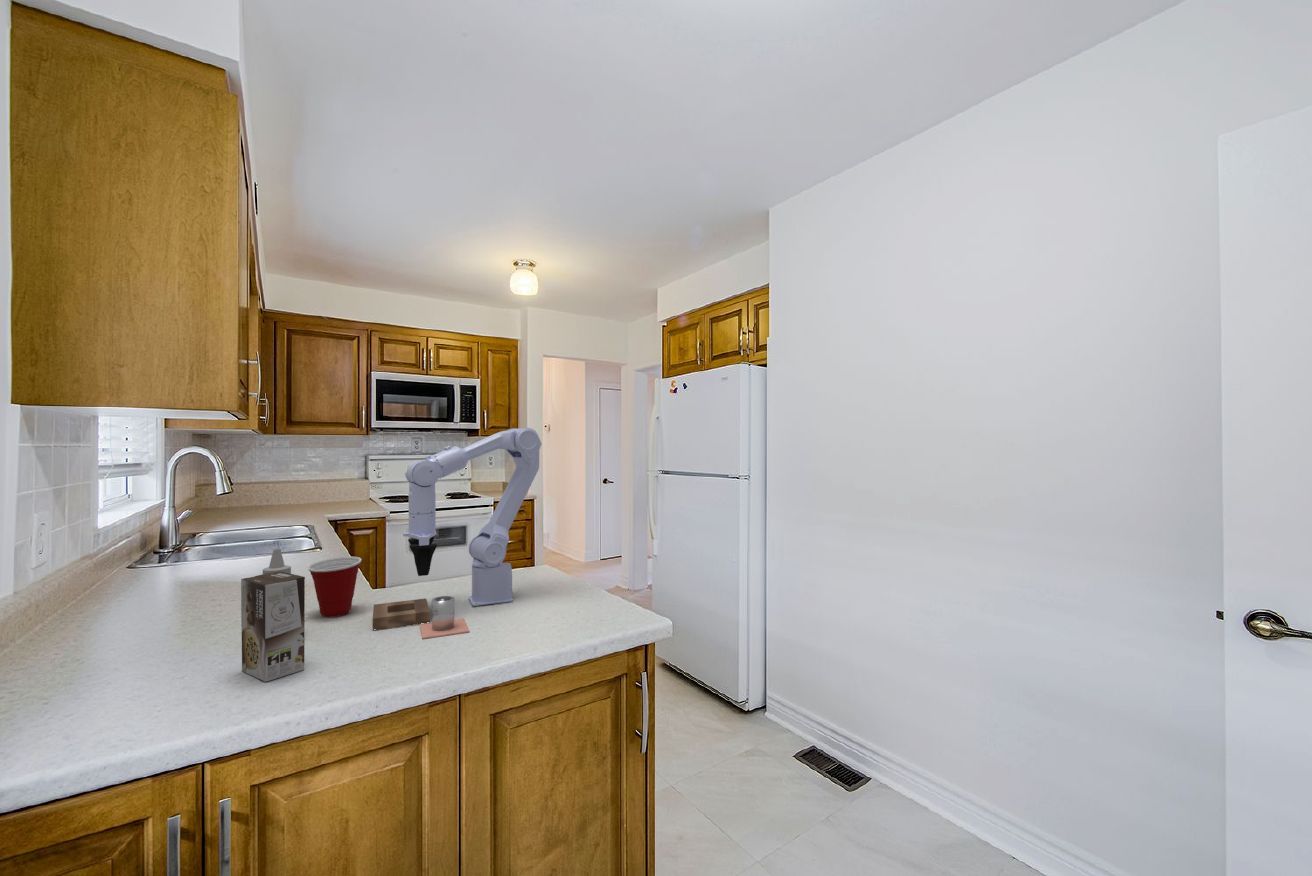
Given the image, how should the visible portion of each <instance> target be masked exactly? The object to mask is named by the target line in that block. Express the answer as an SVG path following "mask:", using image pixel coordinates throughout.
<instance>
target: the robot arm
mask: <svg viewBox="0 0 1312 876" xmlns="http://www.w3.org/2000/svg"><path fill="white" fill-rule="evenodd" d="M542 443H543V442H542V441H541V439H540V437H539V434H538V432H537V431H536V430H534V428H531V427H523V428H516V427H515V428H514V427H513V428H509V429H507V430H502V431H499V432H496V433H493V434H492V435H489V436H487V437H485V438H482V439H481V440H478V441H476V442H474V443H471V444H470V445H467V446H465V447H463V448H462V447H459V446H456V445H454V446H451V445H447V446H444V450H442V451H440V452H437V453H435V454H433V455H431V454H427V455H425V456H424V458H425V459H424V460H416V461H413V462H411V463H410V464H409V466H408V467H407V469H406V472H405V473H404V475H405V476H404V477H405V478H406V480H407V481H408V484H409V485H408V490H409V491H408V531H404V532H403V533H402V536H403V537H409V538H408V539H407V540H408V543H409V550H411V552H412V555H413V559H414V560H413V561H414V565H415V567H416V573H417V576H418V577H423V576H428V575H429V574H430V569H431V566H432V559H433V555H434V554H435V551H436V549H437V546H438V544H437V543H433V542H434V540H435V535H437V530H436V529H437V528H436V527H437V526H436V522H437V521H436V517H437V516H436V509H437V508H436V507H437V506H436V501H437V500H436V497H437V496H436V483H437V482H438V480H439V479H440V480H441V479H443V478H445V477H447V476H450V475H451V474H454V473H456V472H458V471H461V470H463V469H465V468H466V467H467V465H468V463H469V462H470V461H471V460H474V459H475V458H479V457H481V456H483V455H487V454H489V453H491V452H493V451H496V450H505V451H507V452H508V454H509V455H510V456H511V457H512V459H513V462H514V464H515V470H514V471H513V473H512V476H511V477H510V479H509V480H508V481H509V482H508V483H507V486H506V487H505V490H504V492H503V493H502V496H501V497H500V499H499V501H498V503H497V505H496V507H495V509H494V511H493V513H492V514H491V517H490V518H489V521H488V522H487V524H485V525H484V526H483V527H481V529H480V530H479V533H477V535H476V536H475V537H473V539H472V540H471V541H470V542H469V544H468V553H469V556H470V557H471V558H473V559H472V563H471V595H469V596H468V600H469V602H470V604H471V605H472V606H473V607H480V606H485V605H494V604H503V603H509V602H510V603H511V602H513V601H514V599H513V570H512V565H511V563H510V562H503V561H504V560H505V559H506V555H507V547H508V544H509V541H510V536H509V531H510V529H511V526H512V525H513V522H514V521H515V519H516V516H517V515H518V512H519V510H520V508H521V506H522V504H523V502H524V500H525V498H526V496H527V494H528V492H529V490H530V488H531V486H532V484H533V483H534V482H533V481H534V480H535V477H536V476H537V474H538V471H539V468H540V449H541V446H542Z"/></svg>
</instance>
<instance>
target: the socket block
mask: <svg viewBox="0 0 1312 876" xmlns="http://www.w3.org/2000/svg"><path fill="white" fill-rule="evenodd" d="M430 615H431V614H430V607H429V604H428V600H427V598H426V597H425V598H418V599H411V600H400V601H393V602H386V603H385V602H384V603H377V604H373V609H372V631H373V630H374V629H381V630H388V629H387V628H389V629H393V628H392V627H396V628H401V627H400V626H403V627H408V626H407V625H411V626H414V625H413V624H418V625H420V624H421V623H425V624H426V623H427V622H430V619H431V618H430V617H431V616H430ZM430 623H431V622H430ZM374 631H375V630H374Z"/></svg>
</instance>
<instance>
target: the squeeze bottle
mask: <svg viewBox="0 0 1312 876" xmlns="http://www.w3.org/2000/svg"><path fill="white" fill-rule="evenodd" d="M278 571H281V572H285V573H290V574H292V566H290V565H288V564H287V565H286V564H285V561H284V557H283V553H282V549H281V548H275V549H273V550H272V555H271V559H270V562H269V565H268V567H265V568H263V569H262V574H267V573H272V572H278Z"/></svg>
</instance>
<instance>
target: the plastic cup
mask: <svg viewBox="0 0 1312 876" xmlns="http://www.w3.org/2000/svg"><path fill="white" fill-rule="evenodd" d="M362 560H363V559H362V558H361V557H359V556H336V557H332V558H330V557H329V558H325V559H322V560H319V561H314V562H312V563H310V564H309V565H307V570H308V571H309V573H310V575H311V577H312V580H313V585H314V590H315V595H316V599H317V602H318V606H319V607H318V608H319V613H320V614H321V617H323V618H335V617H341V616H345V615H347V614H349V613H350V612H351V609H352V606H353V605H352V603H353V598H354V596H355V595H354V594H355V589H356V584H357V576H358V573H359V568H360V565H361V563H362Z"/></svg>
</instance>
